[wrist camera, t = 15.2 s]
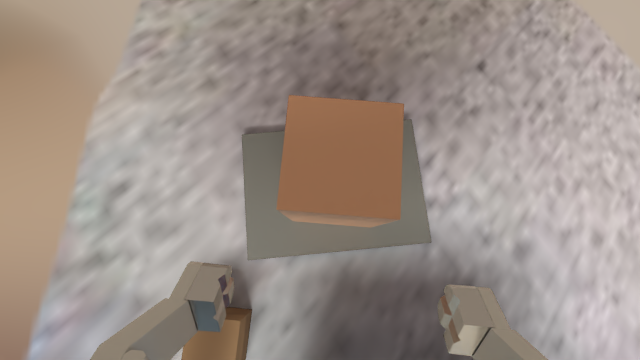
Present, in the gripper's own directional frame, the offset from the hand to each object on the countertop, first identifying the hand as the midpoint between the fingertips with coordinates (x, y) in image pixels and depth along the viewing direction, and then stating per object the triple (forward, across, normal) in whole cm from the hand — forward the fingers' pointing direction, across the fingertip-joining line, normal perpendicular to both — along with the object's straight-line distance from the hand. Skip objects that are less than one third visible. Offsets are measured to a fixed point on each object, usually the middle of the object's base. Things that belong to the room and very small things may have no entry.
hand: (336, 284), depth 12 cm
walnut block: (+5, +7, +13) cm, 15 cm away
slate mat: (+13, 0, +4) cm, 13 cm away
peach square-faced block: (+12, 0, +4) cm, 13 cm away
